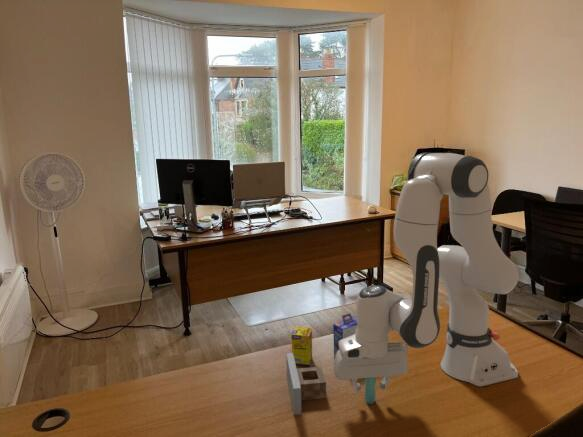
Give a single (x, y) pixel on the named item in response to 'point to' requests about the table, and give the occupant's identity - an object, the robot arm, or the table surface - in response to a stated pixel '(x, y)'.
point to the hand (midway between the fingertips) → (370, 389)
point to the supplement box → (302, 346)
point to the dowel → (370, 390)
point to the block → (312, 383)
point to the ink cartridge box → (343, 330)
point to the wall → (293, 384)
